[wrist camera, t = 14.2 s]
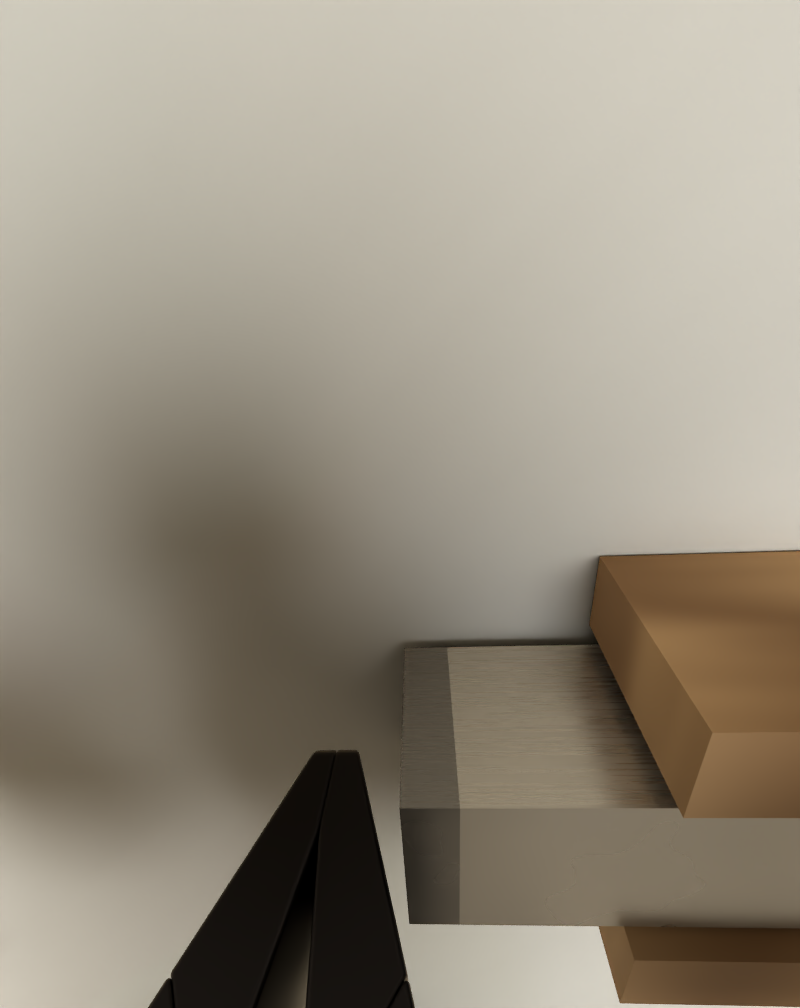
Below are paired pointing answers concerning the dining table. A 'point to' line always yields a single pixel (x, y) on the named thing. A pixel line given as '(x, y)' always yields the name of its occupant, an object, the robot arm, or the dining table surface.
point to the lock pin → (564, 805)
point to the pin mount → (709, 744)
